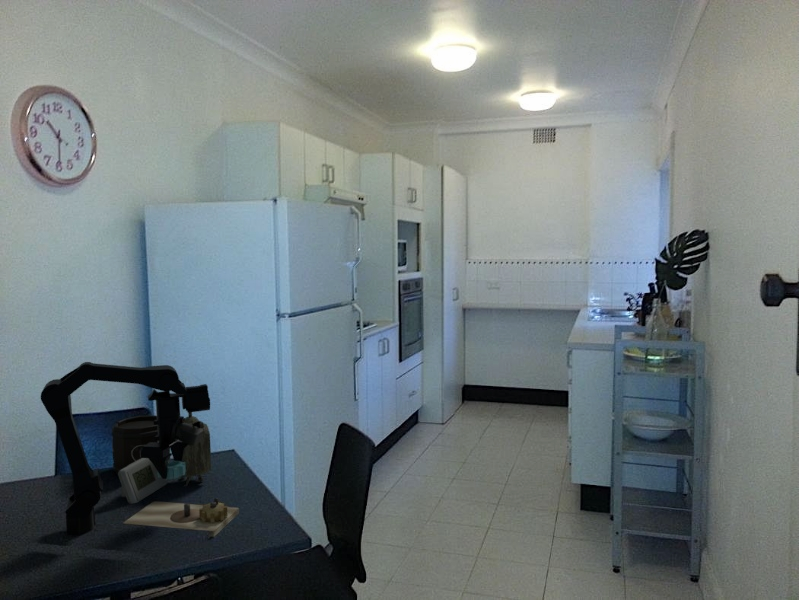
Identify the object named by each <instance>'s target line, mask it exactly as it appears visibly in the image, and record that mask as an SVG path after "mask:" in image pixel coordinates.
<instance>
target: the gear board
mask: <svg viewBox="0 0 800 600" xmlns="http://www.w3.org/2000/svg"><path fill="white" fill-rule="evenodd" d="M239 510H240V508H239V507H230V506H228V505H226V503H224V502H222V503H221V502H219V497H214V498H213V501H211V502H210V503H207V504H193V503H182V502H169V501H168V502H166V501H154V500H153V501H152V502H151V503H150V504H148V505H146V506H145V507H143V508H142V509H141V510H139V511H137V512H136V513H135V514H133V515H132V516H131V517H129V518H128V519H126V520H125V521H123V522H122V524H126V525H136V526H139V525H140V526H147V527H148V526H150V527H160V528H161V527H162V528H173V529H182V530H192V531H193V530H195V531H205V532H206V531H207V532H209V533H208V534H207V535H206V537H209V538H210V537H211V538H214V537H216V535H218V534H219V533H220V532H221V531H222V530H223V529H224V528H225V527H226V526H228V524H230V522H232V520H234V519H235V518H236V517H237V516H238V515H239V514H240V511H239Z"/></svg>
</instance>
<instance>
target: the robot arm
mask: <svg viewBox="0 0 800 600" xmlns="http://www.w3.org/2000/svg"><path fill="white" fill-rule="evenodd" d="M177 372H178V371H177V370H176V369H175V368H174V367H173V366H171V365H168V364H166V365H165V364H164V365H152V366H144V367H137V366H127V365H126V366H125V365H115V364H104V363H103V364H102V363H95V362H94V363H93V362H91V361H85V362H82V363H81V364H80V365H79V366H77V367H76V368H75V369H73V370H72V371H70V372H68V373H66V374H65V375H63V376H62V377H61V378H57V379H52V380H50V381H48V382H47V383H46V384H45V385H44V387H43V389H42V391H41V393H40V401H41V403H42V404H43V406H44V408H45V410H46V411H47V413H48V414H49V416H50V417H51V418H52V420H53V421H54V423H55V426H56V429H57V433H58V435H59V438H60V441H61V444H62V448H63V450H64V453H65V457H66V459H67V463H68V466H69V468H70V471H71V474H72V475H71V476H72V491H73V493H72V494H71V495H70V496H69V497H68V498H67V502H66V507H65V511H64V513H65V524H66V526H65V527H66V535H67V536H77V537H78V536H79V537H80V535H83V534H87V533H89V532H91V531H92V530H94V528H95V525H96V514H95V513H96V511H95V506H96V505H97V504H99V501H100V500H101V494H102V492H103V489H104V480H102V478H101V476H100V468H96V469H94V470H93V469H92V467H91V466H90V464H89V462H88V459H87V455H86V453H85V449H84V446H83V443H82V441H81V437H80V434H79V431H78V428H77V425H76V422H75V419H74V417H73V409H72V396H71V395H72V394H73V393H74V392H76V391H77V390H78V389H79V388H81V387H82V386H83V385H85V383H87V382H89V381H97V382H98V381H101V382H109V383H110V382H112V383H122V384H136V385H142V386H145V387H148V388H150V389H152V390H151V392H150V393H149V394H148V395H147V399H148V401H149V402H152V401H155V408H156V409H155V411H156V416H157V420H155V421H154V425H157V428H158V435H157V436H155V441H160V443H159V442H150V443H148V444H146V445H145V446H143V447H142V448H141V449H140V457H141V458H149V460H150V461H151V462H152V464H153V465H154V466H155V468H156V469H157V471H158V473H159V474H160V476H161V477H162V479H166V478H167V473H168V459H169V458H171V457H172V458H173V461H181V462H183V459H184V455H185V452H186V448H187V446H188V445H190V446H194V445H195V444H196V443H198V442H200V440H201V436H202V435H203V434H204V433H205V431H204V425H203V423H204V422H203V421H201V420H199V419H198V421H196V422H195V423H194V424H193V425H192V423H190V424H187V423H185V418H186V417H184V416H181V407H182V410H185V411H186V413H187V414H188V413H189V412H192V413H197V412H205V411H210V410H211V399H210V395H209V389H208V387H209V386H208V385H207V383H205V384H204V383H203V384H199V385H193V386H185V384H184V382H183V381H181V380H180V377H179V374H178V373H177ZM157 390H158V391H157ZM170 391H171V392H173V393H171V392H170ZM180 398H181V403H180ZM181 404H182V405H181ZM180 406H181V407H180ZM169 452H170V453H169ZM166 480H167V479H166Z"/></svg>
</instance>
